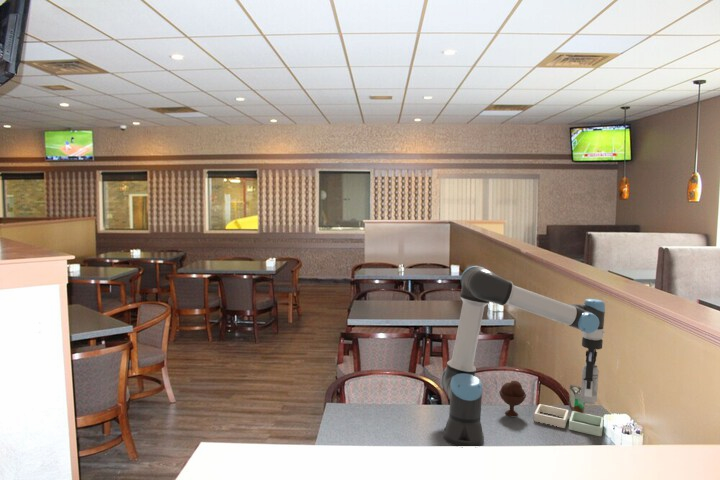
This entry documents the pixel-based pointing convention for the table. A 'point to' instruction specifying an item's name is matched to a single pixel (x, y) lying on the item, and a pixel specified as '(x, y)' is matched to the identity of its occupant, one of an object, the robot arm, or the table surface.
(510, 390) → the ice cream bowl
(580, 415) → the green bin
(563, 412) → the beige bin
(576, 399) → the food container
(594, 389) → the energy drink can
